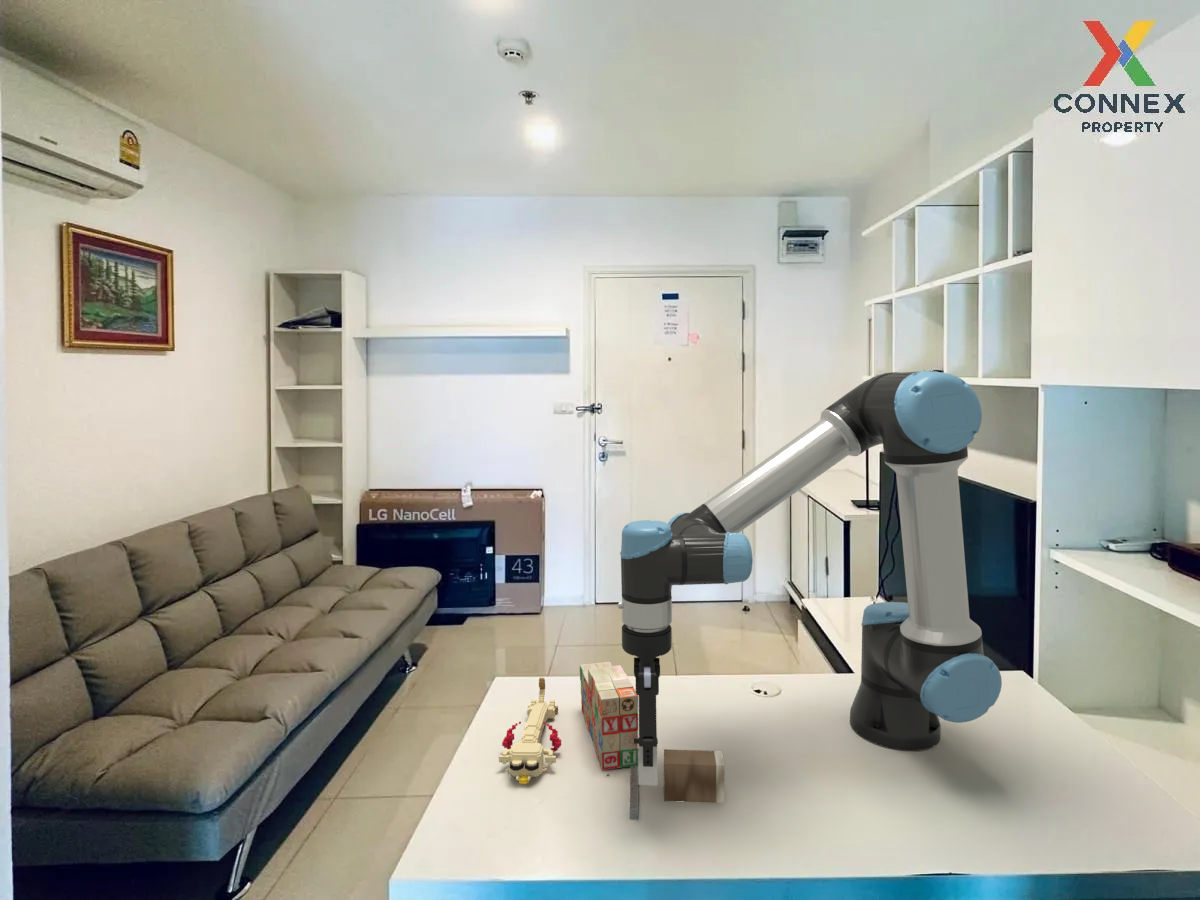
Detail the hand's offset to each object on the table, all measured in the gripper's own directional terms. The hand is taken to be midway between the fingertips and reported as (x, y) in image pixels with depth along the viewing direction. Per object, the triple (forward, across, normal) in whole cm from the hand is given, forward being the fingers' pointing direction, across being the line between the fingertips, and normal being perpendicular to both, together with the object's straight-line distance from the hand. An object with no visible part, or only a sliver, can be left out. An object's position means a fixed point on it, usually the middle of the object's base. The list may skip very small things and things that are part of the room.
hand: (647, 758), depth 105 cm
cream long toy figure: (+6, -13, -20) cm, 24 cm away
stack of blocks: (+6, -17, -7) cm, 19 cm away
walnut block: (+3, 0, +2) cm, 4 cm away
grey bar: (+6, +1, -2) cm, 6 cm away
